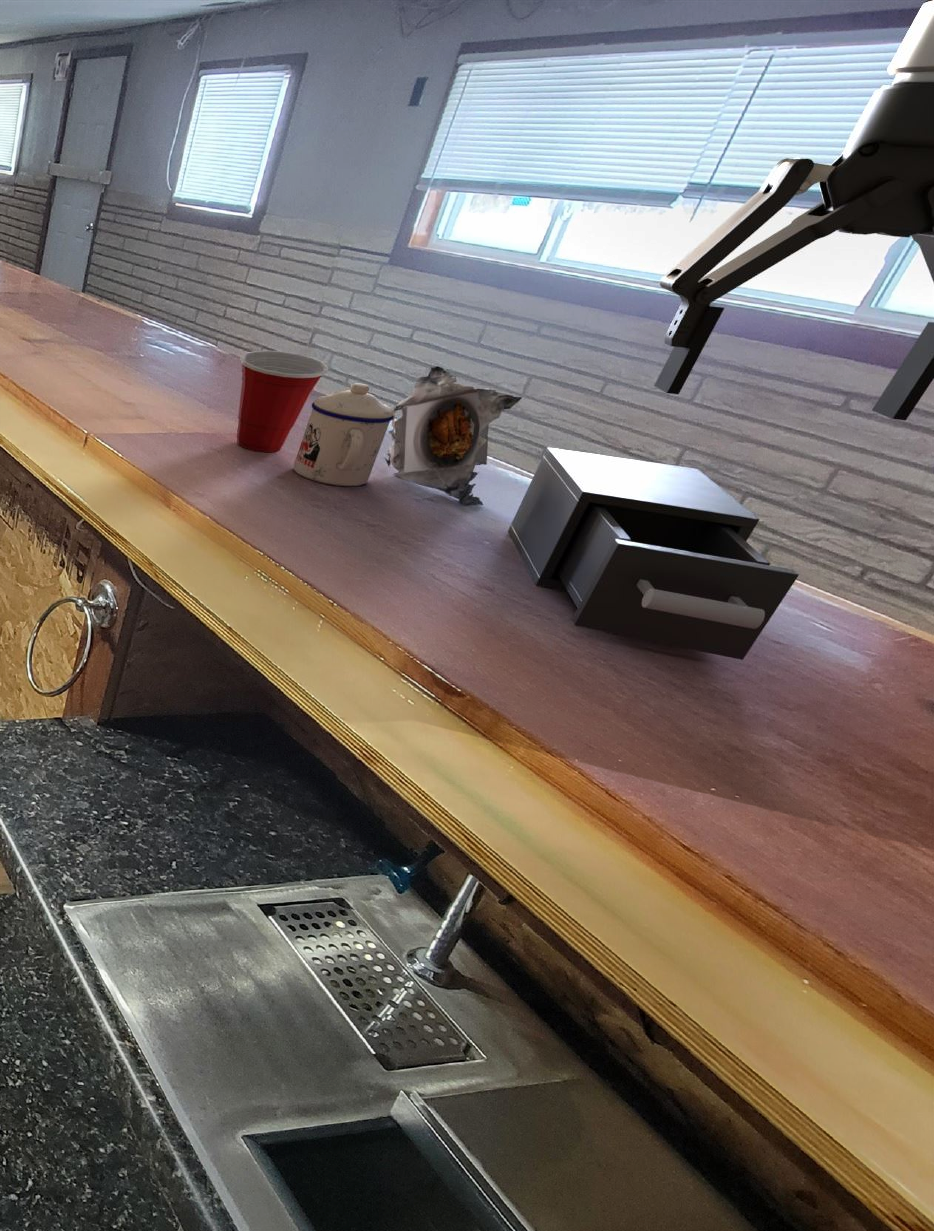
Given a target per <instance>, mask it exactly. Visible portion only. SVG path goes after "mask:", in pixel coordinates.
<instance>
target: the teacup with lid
mask: <svg viewBox="0 0 934 1231" xmlns="http://www.w3.org/2000/svg"><path fill="white" fill-rule="evenodd" d="M369 391H370V385H368V384H365V383H360V382H355V383H353V384H351V386H350V389H349V390H341V391H339V392H336V393H333V394H330V395H329V394H327V395H322V396H319V397H316V398H315V400H313V402H312V403H311V408H312V409H311V413H310V415H309V418H308V422H307V425H306V428H305V430H304V434H303V437H302V439H301V443H300V446H299V449H298V452H297V456H296V458H295V461H294V463H293V464H294V465H293V470H294V471H295V473H297V474H298V475H299V476H301V477H303V478H306V479H307V480H311V481H314V482H317V483H321V484H325V485H332V486H339V487H358V486H362V485H364V484H366V483H367V482H368V481H369V478H370V476H371V473H372V470H373V468H374V465H375V462H376V459H377V457H378V454H379V452H380V449H381V446H382V444H383V442H384V439H385V436H386V433H387V430H388V428H389V425H390V423H391V422H392V420H393V418H394V412H393V410H394V409H393V408H392V407H390V406H389V405H388V404H385V403H382V402H381V401H380V400H379V398H377V397H376V396H375V395H373V394H371V393H369ZM394 419H395V418H394Z"/></svg>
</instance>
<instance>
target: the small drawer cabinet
mask: <svg viewBox="0 0 934 1231" xmlns="http://www.w3.org/2000/svg"><path fill="white" fill-rule="evenodd" d="M589 502H591V503H597V504H604V505H610V506H616V507H622V508H628V509H635V510H641V511H647V512H653V513H660V514H666V515H672V516H678V517H684V518H691V519H697V520H703V521H709V522H715V523H722V524H727V525H728V526H729V527H730V528H731V529H732V530H734V531H735V532H736V533H737V534H738V535H739V536H740V537H741V538H743V539H744V540H745V541H746V542H747V541H748V540H749V538H750V536H751V535H752V533H753V531H754V530H755V528H756V527H757V525H758V523H759V522H760V518H759V517H757V516H756V515H755V514H754V513H752V512H751V511H750V510H749V509H748V508H746V506H744V505H743V504H742V503H740V502H739V501H738V500H736V499H735V498H734V497H733V496H731V495H730V494H729V493H728V492H727V491H725V490H724V489H723V488H722V487H721V486H719V485H718V484H717V483H716V482H715V481H713V480H712V479H711V478H709V476H708V475H706V474H705V473H703V472H702V471H701V470H700V469H698V468H694V467H686V466H679V465H672V464H665V463H659V462H651V461H644V460H638V459H637V460H636V459H631V458H623V457H618V456H609V455H603V454H596V453H589V452H581V451H576V450H570V449H569V450H568V449H562V448H555V447H549V446H547V447H546V449H545V451H544V453H543V456H542V457H541V460H540V462H539V464H538V466H537V468H536V471H535V473H534V475H533V477H532V479H531V481H530V482H529V486H528V487H527V489H526V491H525V494H524V496H523V498H522V500H521V502H520V505H519V506H518V509H517V511H516V513H515V514H514V517H513V519H512V522H511V524H510V526H509V527H508V530H507V534H508V536H509V537H510V539H511V541H512V544H514V547H515V549H516V550H517V552H518V554H519V556H520V558H521V560H522V562H523V564H524V566H525V567H526V569H527V572H528V573H529V575H530V577H531V578H532V580H533V583H534V584H535V586H537V587H543V588H547V589H553V590H558V591H563V592H568V591H567V589H566V587H565V586H564V584H563V582H562V581H561V579H560V577H559V576H558V574H557V572H556V571H555V570H556V568H557V566H558V564H559V562H560V560H561V558H562V556H563V554H564V552H565V550H566V548H567V546H568V544H569V542H570V540H571V538H572V536H573V534H574V532H575V530H576V528H577V526H578V524H579V523H580V521H581V519H582V517H583V515H584V513H585V511H586V509H587V507H588V505H589Z"/></svg>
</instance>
